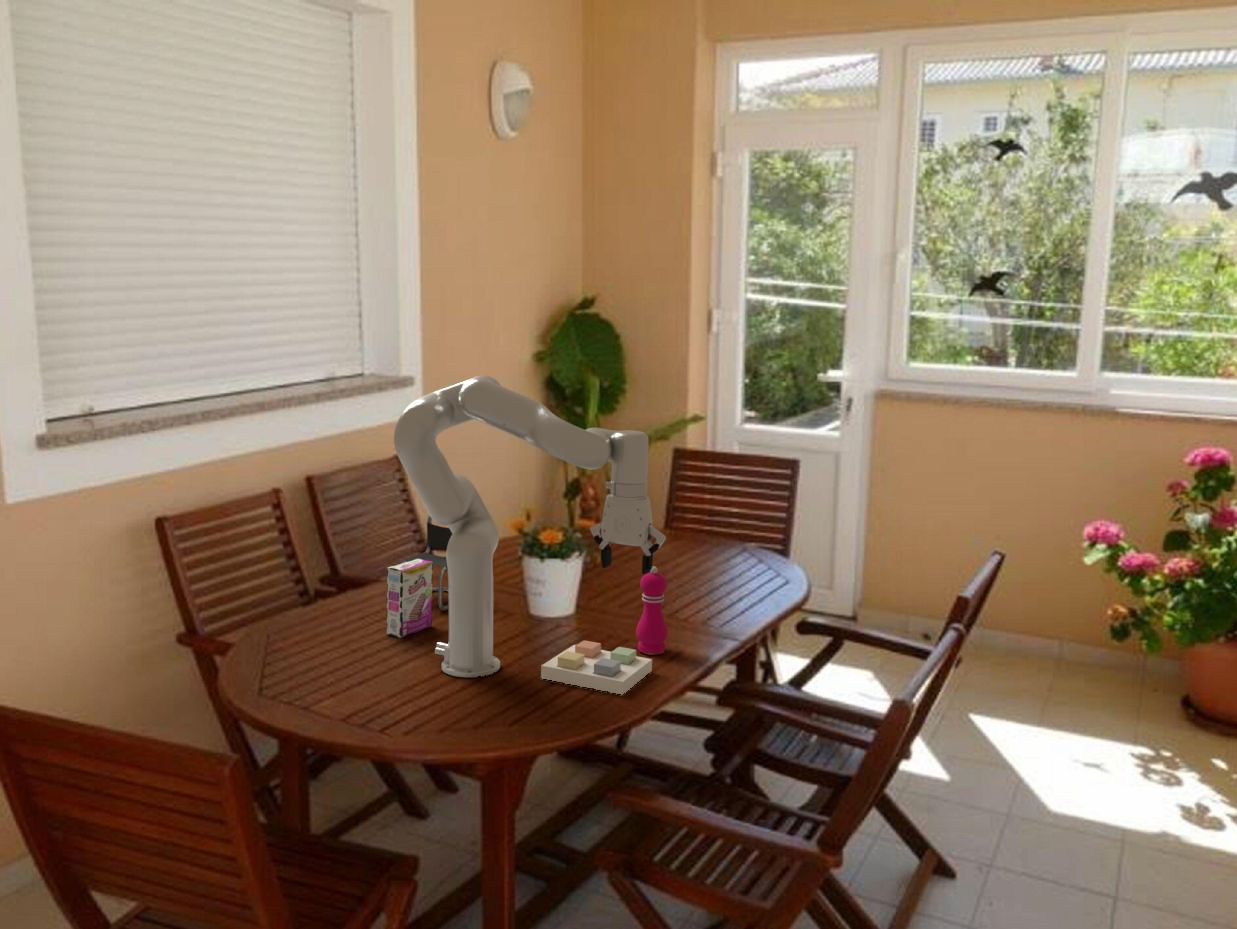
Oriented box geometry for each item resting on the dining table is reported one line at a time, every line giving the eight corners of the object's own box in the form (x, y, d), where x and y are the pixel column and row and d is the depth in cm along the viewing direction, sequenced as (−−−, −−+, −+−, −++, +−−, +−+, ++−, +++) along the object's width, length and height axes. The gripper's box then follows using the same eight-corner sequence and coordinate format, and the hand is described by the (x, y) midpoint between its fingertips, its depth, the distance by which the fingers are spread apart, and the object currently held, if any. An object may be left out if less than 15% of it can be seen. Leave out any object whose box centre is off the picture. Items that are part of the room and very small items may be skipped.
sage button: (610, 663, 232) (610, 652, 231) (618, 657, 236) (618, 646, 235) (628, 666, 230) (628, 655, 230) (636, 660, 234) (636, 649, 233)
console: (541, 679, 229) (541, 665, 228) (573, 657, 242) (574, 644, 242) (622, 695, 221) (622, 681, 220) (651, 672, 234) (652, 659, 234)
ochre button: (557, 667, 228) (557, 657, 228) (566, 661, 232) (567, 651, 232) (575, 671, 226) (575, 660, 226) (584, 665, 230) (584, 654, 230)
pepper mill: (640, 657, 243) (643, 571, 240) (631, 646, 250) (634, 563, 247) (671, 655, 245) (674, 569, 242) (661, 644, 252) (664, 561, 249)
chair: (477, 595, 287) (477, 514, 283) (441, 613, 271) (441, 527, 267) (435, 589, 292) (435, 509, 288) (397, 606, 276) (397, 522, 272)
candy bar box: (402, 639, 251) (401, 570, 249) (386, 635, 254) (385, 567, 251) (433, 626, 261) (433, 560, 258) (418, 622, 263) (417, 557, 261)
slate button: (593, 675, 225) (593, 664, 224) (602, 668, 228) (602, 657, 228) (611, 678, 223) (612, 667, 223) (620, 672, 227) (620, 661, 226)
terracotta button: (575, 656, 235) (575, 645, 235) (583, 650, 239) (583, 640, 239) (592, 659, 234) (592, 649, 233) (600, 653, 237) (601, 643, 237)
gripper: (583, 488, 227) (581, 568, 230) (660, 497, 220) (657, 579, 223) (599, 482, 234) (597, 560, 236) (674, 491, 226) (670, 571, 229)
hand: (626, 569), depth 230 cm, fingers open, 8 cm apart
